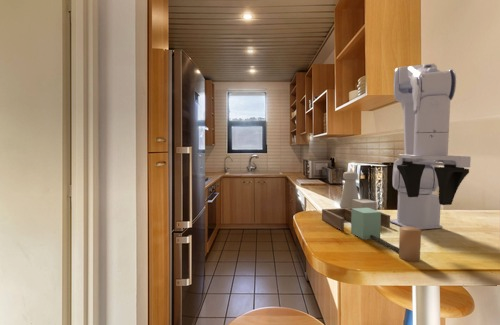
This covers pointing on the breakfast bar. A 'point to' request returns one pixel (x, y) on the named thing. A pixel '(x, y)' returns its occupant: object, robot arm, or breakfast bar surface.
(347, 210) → the walnut rack
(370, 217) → the tethered block
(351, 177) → the salt shaker
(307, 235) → the breakfast bar surface
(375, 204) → the grey block
